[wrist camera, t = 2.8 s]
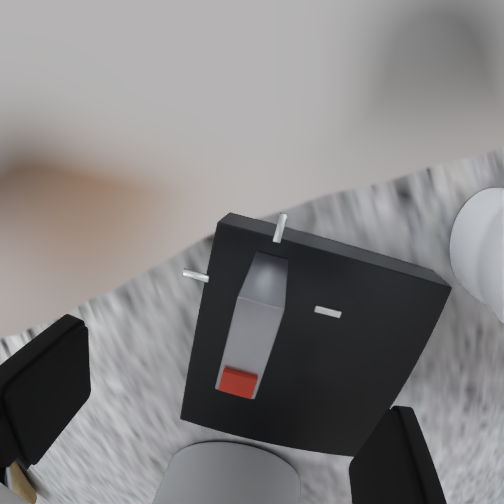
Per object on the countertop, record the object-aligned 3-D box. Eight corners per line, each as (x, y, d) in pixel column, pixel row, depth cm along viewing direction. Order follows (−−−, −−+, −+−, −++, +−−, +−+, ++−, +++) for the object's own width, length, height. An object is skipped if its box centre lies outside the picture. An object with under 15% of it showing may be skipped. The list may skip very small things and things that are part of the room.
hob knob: (256, 251, 16) (236, 299, 10) (288, 259, 16) (284, 312, 10) (237, 324, 17) (213, 392, 12) (266, 332, 17) (253, 403, 12)
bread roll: (18, 480, 38) (0, 504, 31) (-16, 432, 34) (-39, 457, 27) (51, 500, 37) (34, 526, 30) (17, 453, 33) (-7, 482, 26)
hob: (214, 187, 18) (198, 192, 15) (439, 252, 18) (461, 268, 15) (176, 388, 23) (162, 415, 20) (352, 429, 22) (356, 458, 19)
